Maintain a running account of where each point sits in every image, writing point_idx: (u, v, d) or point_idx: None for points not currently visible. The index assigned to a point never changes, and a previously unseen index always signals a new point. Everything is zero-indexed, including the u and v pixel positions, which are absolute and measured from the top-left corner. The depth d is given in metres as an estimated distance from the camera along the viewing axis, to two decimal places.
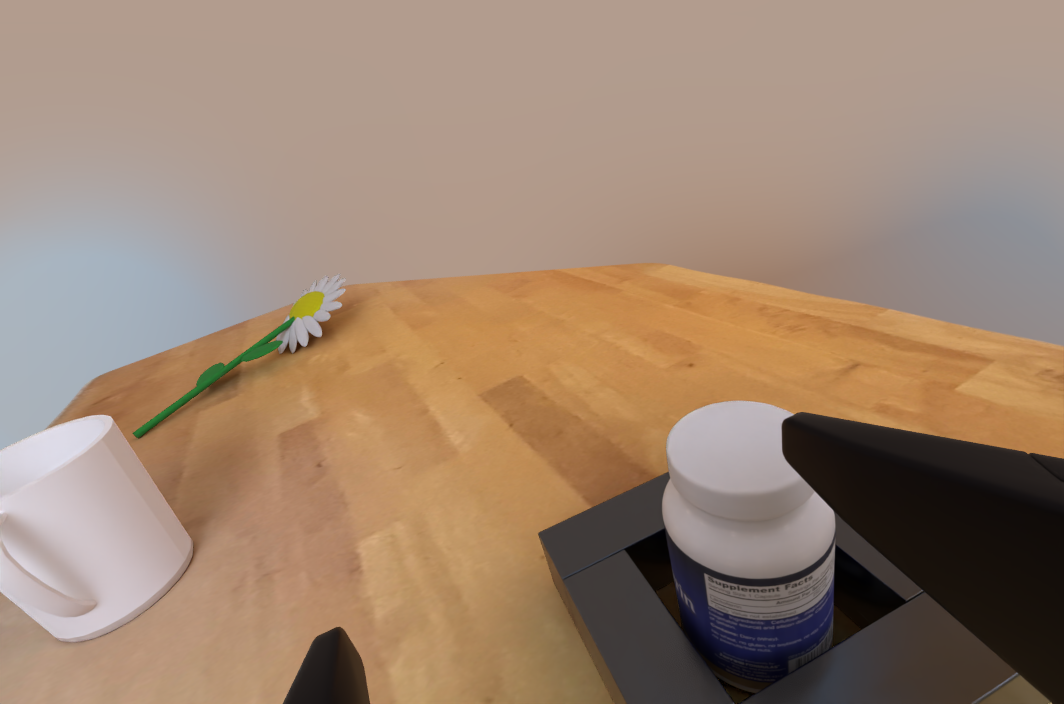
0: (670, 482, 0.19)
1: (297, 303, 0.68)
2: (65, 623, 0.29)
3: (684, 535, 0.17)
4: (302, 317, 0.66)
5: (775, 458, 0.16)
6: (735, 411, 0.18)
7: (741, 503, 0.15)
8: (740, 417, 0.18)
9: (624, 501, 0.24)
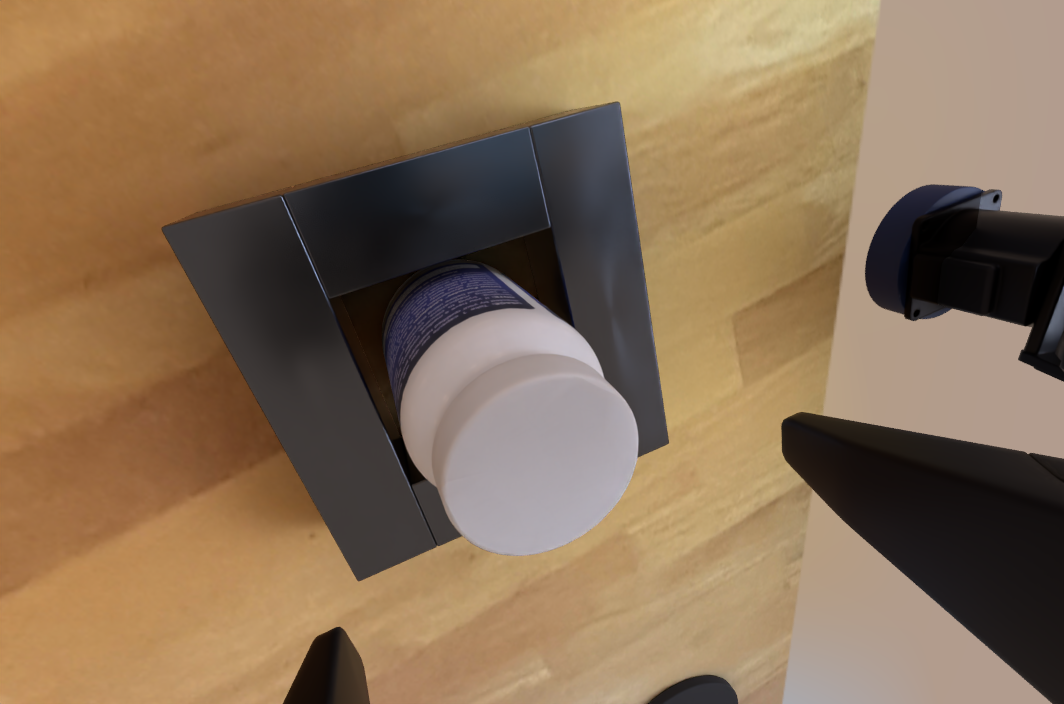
0: None
1: None
2: None
3: None
4: None
5: (596, 437, 0.11)
6: (481, 461, 0.10)
7: None
8: (498, 457, 0.10)
9: (323, 483, 0.16)
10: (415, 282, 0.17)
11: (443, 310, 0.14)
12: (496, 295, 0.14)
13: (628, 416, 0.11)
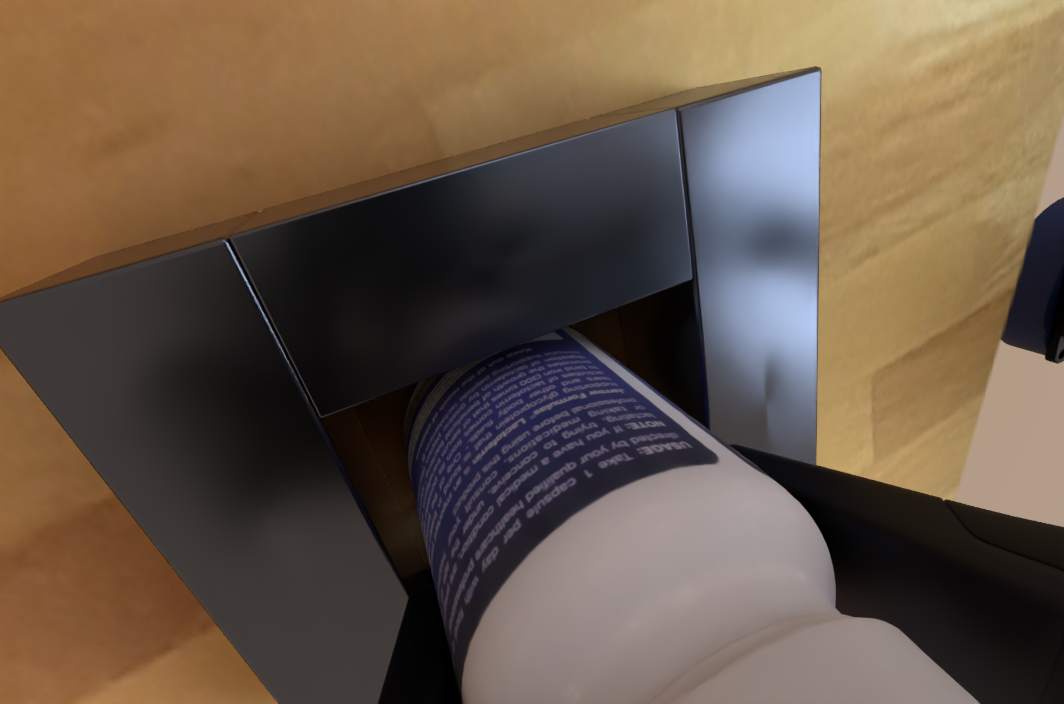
0: None
1: None
2: None
3: None
4: None
5: None
6: None
7: None
8: None
9: (312, 699, 0.10)
10: None
11: (536, 452, 0.07)
12: (630, 420, 0.07)
13: None
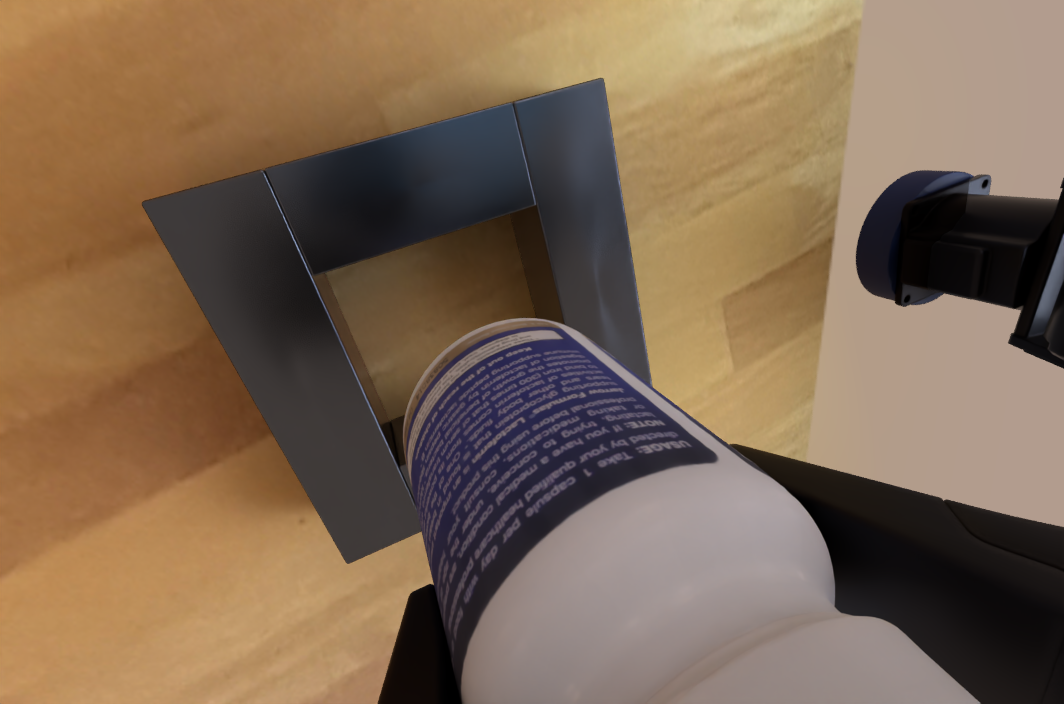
0: None
1: None
2: None
3: None
4: None
5: None
6: None
7: None
8: None
9: (310, 463, 0.16)
10: (460, 362, 0.11)
11: (535, 451, 0.07)
12: (630, 419, 0.07)
13: None
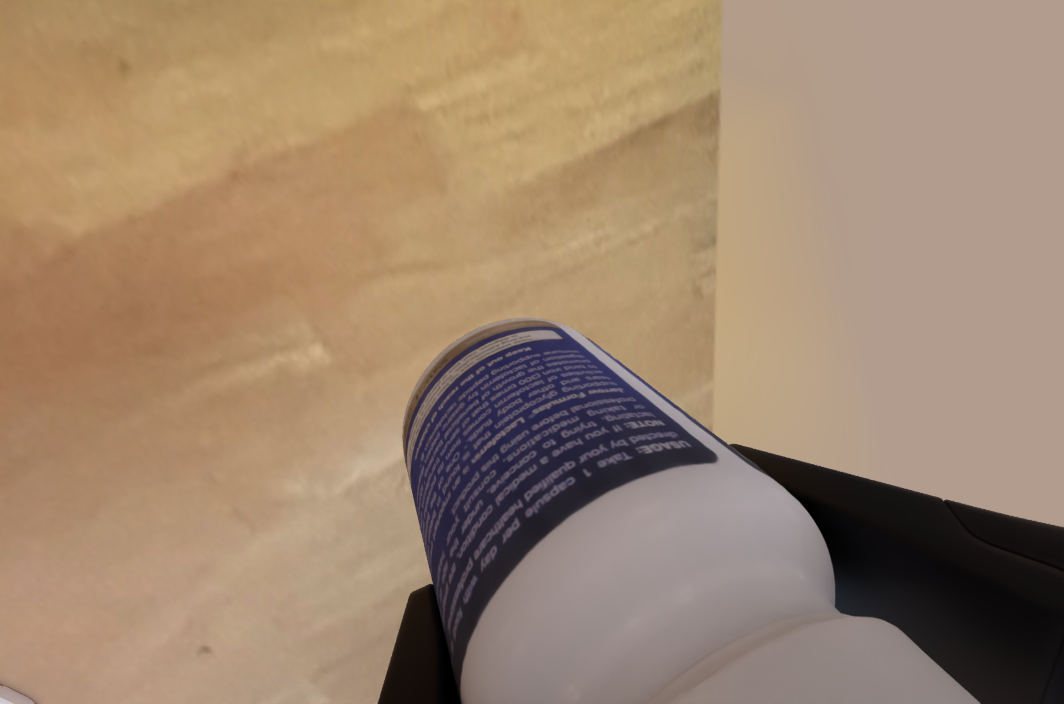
0: None
1: None
2: None
3: None
4: None
5: None
6: None
7: None
8: None
9: None
10: (460, 362, 0.11)
11: (535, 451, 0.07)
12: (629, 419, 0.07)
13: None
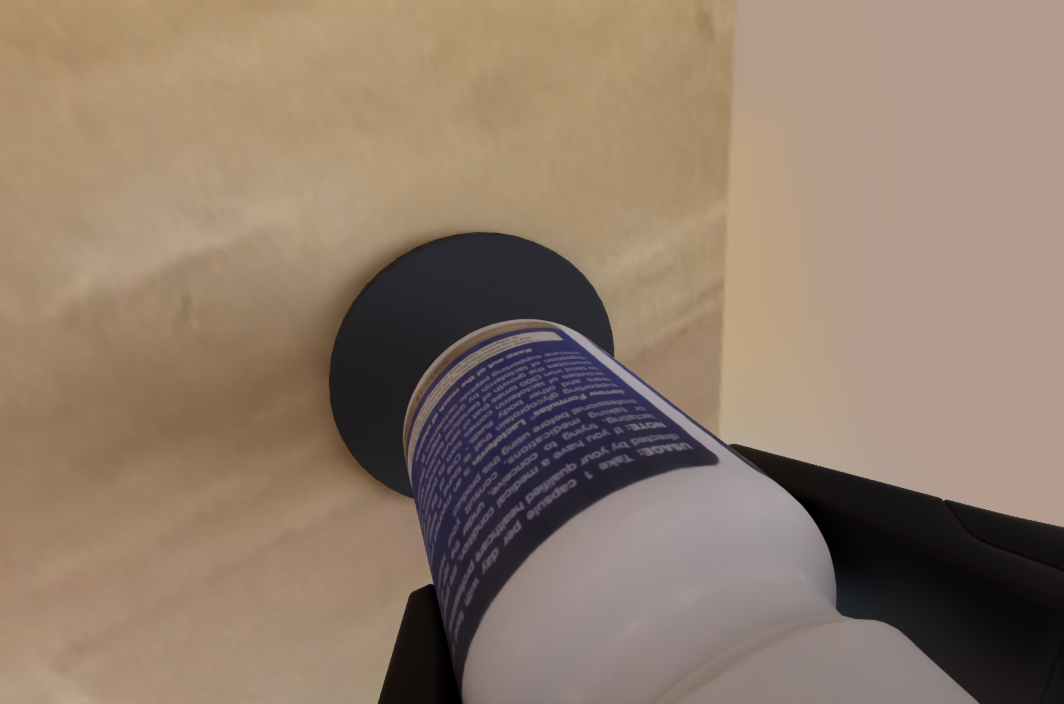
0: None
1: None
2: None
3: None
4: None
5: None
6: None
7: None
8: None
9: None
10: (461, 364, 0.11)
11: (536, 453, 0.07)
12: (631, 421, 0.07)
13: None
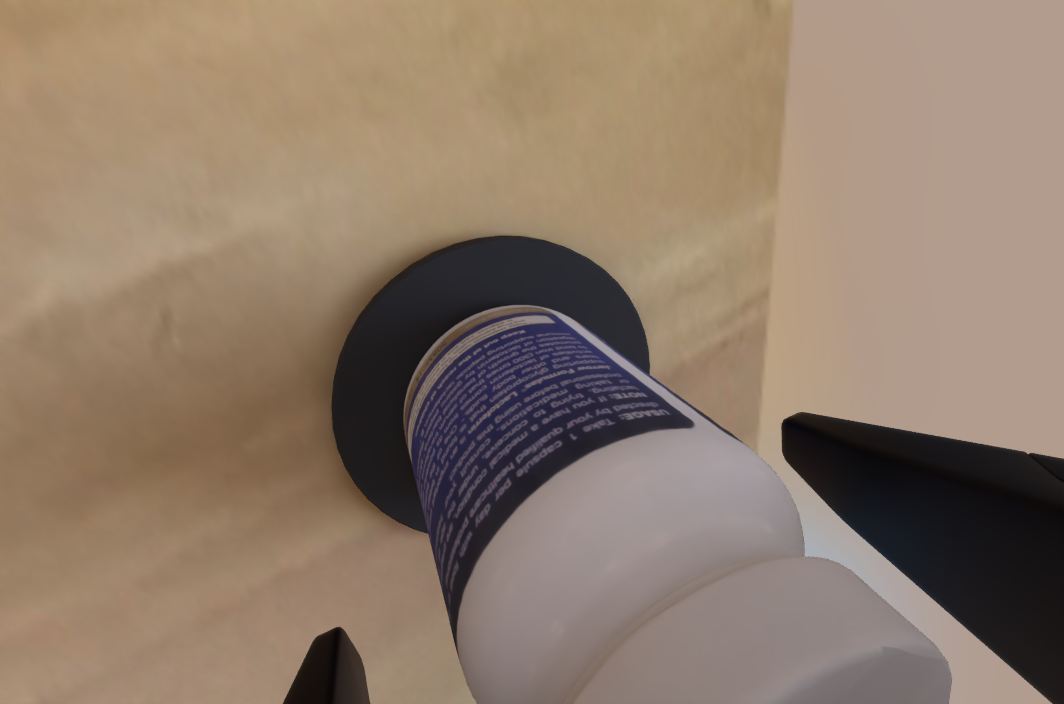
0: None
1: None
2: None
3: None
4: None
5: None
6: None
7: None
8: None
9: None
10: (458, 345, 0.11)
11: (526, 420, 0.08)
12: (614, 391, 0.08)
13: (947, 686, 0.05)
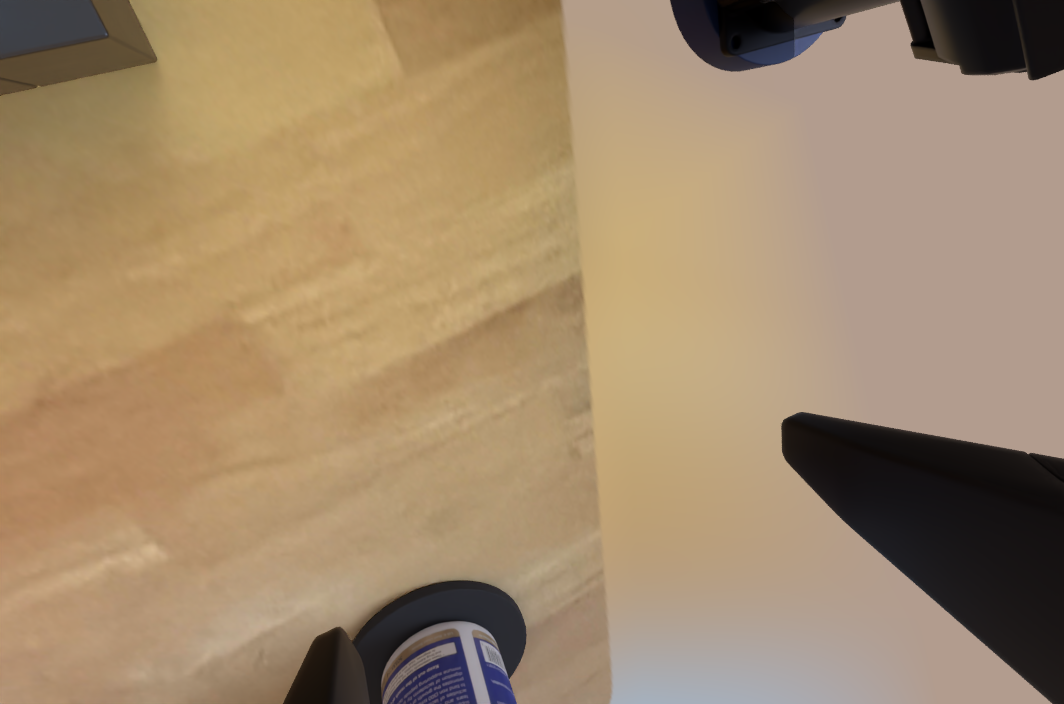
0: None
1: None
2: None
3: None
4: None
5: None
6: None
7: None
8: None
9: None
10: (407, 666, 0.22)
11: None
12: None
13: None
